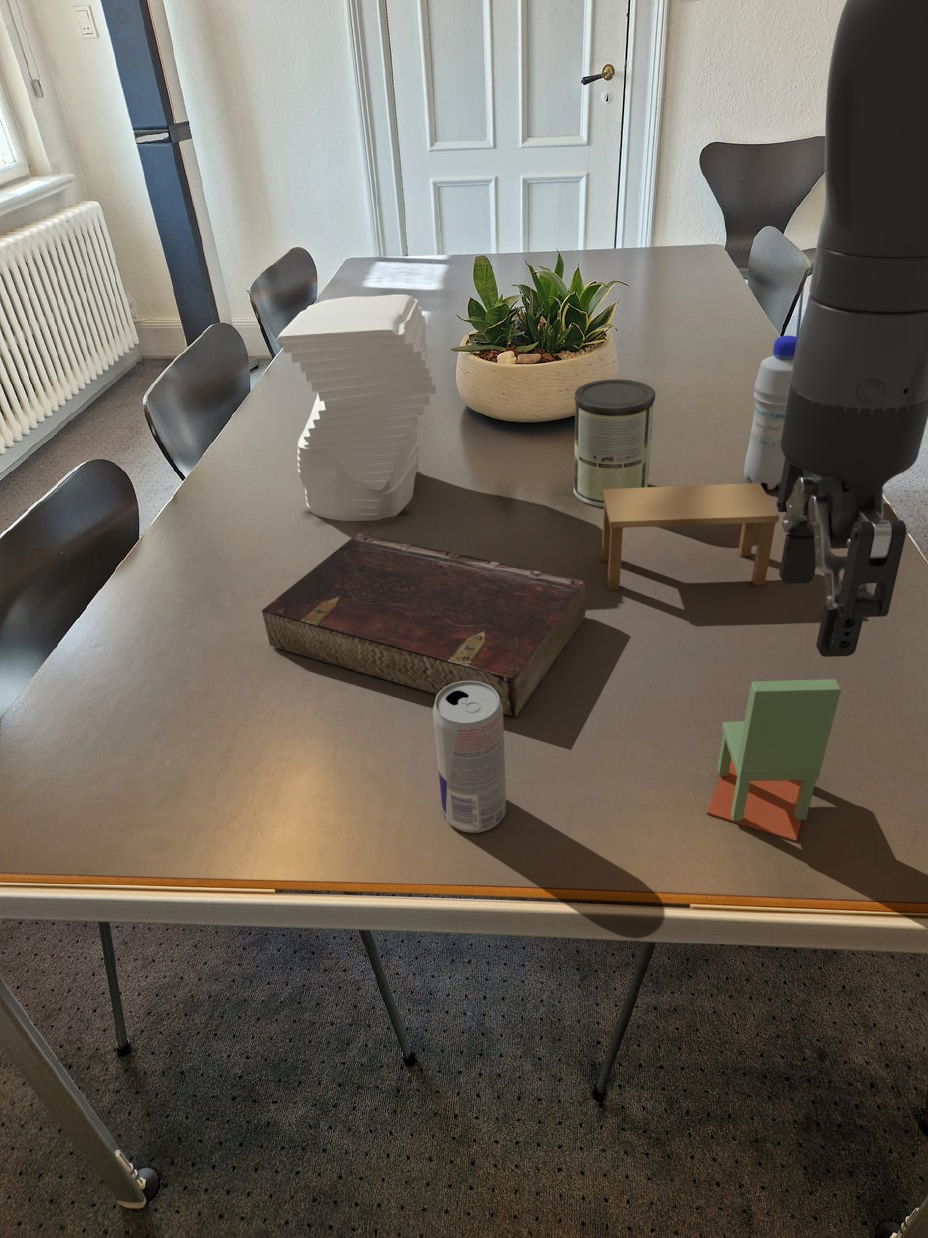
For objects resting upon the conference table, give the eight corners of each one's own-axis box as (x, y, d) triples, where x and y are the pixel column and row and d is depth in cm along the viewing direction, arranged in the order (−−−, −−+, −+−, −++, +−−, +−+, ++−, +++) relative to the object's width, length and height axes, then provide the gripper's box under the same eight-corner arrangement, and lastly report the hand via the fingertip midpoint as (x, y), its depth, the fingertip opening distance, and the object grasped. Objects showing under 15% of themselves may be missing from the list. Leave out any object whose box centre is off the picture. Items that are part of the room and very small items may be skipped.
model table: (749, 550, 103) (760, 482, 98) (767, 586, 96) (779, 515, 91) (599, 555, 104) (602, 488, 99) (607, 591, 97) (610, 521, 92)
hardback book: (585, 615, 93) (586, 576, 91) (515, 720, 80) (514, 679, 77) (364, 564, 105) (359, 528, 102) (270, 648, 92) (261, 610, 89)
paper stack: (280, 531, 113) (241, 337, 99) (345, 448, 135) (320, 279, 120) (433, 540, 109) (416, 339, 94) (475, 453, 130) (466, 278, 116)
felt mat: (810, 782, 72) (811, 780, 71) (796, 842, 67) (796, 840, 66) (726, 758, 74) (727, 757, 74) (706, 814, 69) (706, 812, 69)
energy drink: (474, 777, 74) (467, 670, 67) (519, 809, 71) (517, 699, 64) (429, 812, 71) (417, 702, 64) (474, 846, 68) (466, 735, 61)
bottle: (731, 483, 117) (751, 337, 106) (758, 467, 121) (780, 325, 110) (774, 498, 113) (800, 348, 102) (801, 481, 117) (829, 334, 105)
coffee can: (561, 482, 121) (562, 386, 113) (627, 470, 123) (632, 374, 115) (591, 514, 112) (595, 412, 104) (661, 499, 115) (670, 398, 107)
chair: (786, 767, 73) (815, 639, 65) (807, 821, 68) (841, 689, 60) (715, 768, 73) (735, 641, 65) (731, 822, 68) (755, 691, 60)
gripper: (991, 424, 42) (913, 680, 51) (883, 337, 53) (836, 558, 63) (834, 431, 42) (786, 684, 52) (761, 343, 54) (732, 562, 63)
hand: (813, 614), depth 57 cm, fingers open, 8 cm apart
